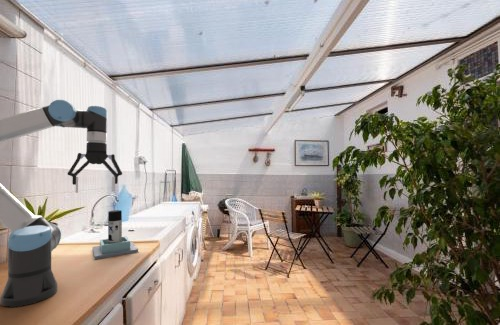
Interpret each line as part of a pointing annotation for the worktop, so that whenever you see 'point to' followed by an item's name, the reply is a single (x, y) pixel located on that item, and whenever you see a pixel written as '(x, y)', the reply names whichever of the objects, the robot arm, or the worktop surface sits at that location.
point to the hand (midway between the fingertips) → (95, 192)
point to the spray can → (114, 226)
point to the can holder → (114, 248)
